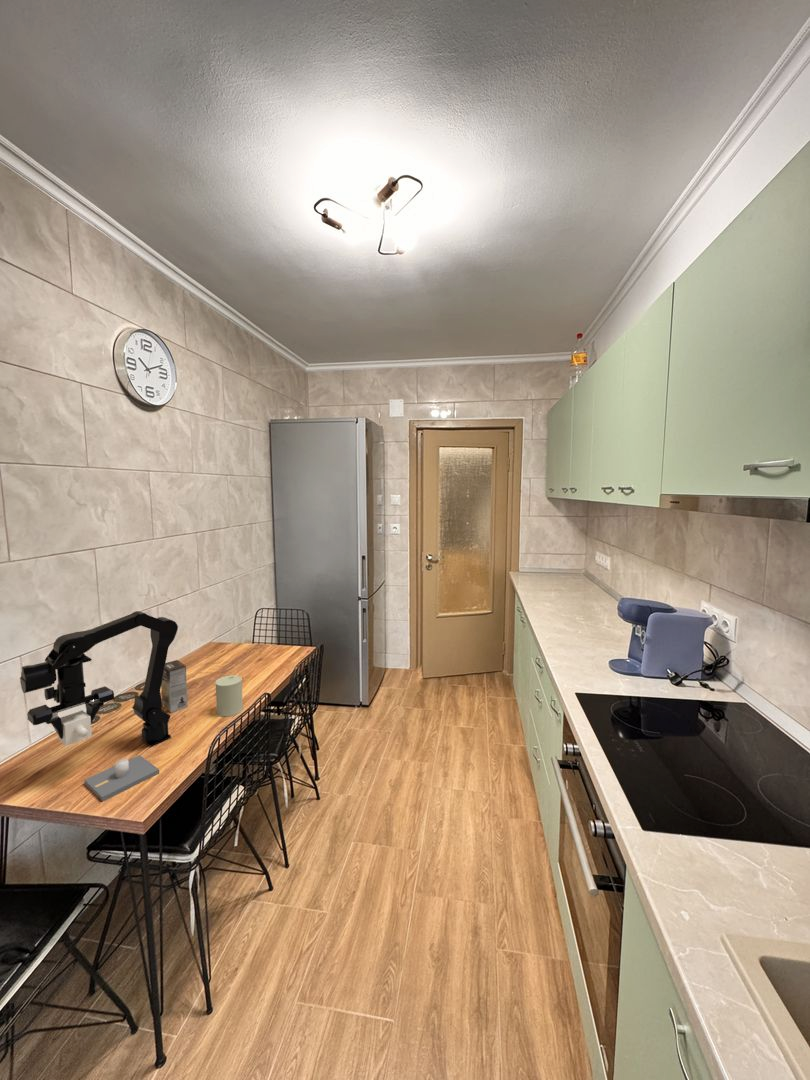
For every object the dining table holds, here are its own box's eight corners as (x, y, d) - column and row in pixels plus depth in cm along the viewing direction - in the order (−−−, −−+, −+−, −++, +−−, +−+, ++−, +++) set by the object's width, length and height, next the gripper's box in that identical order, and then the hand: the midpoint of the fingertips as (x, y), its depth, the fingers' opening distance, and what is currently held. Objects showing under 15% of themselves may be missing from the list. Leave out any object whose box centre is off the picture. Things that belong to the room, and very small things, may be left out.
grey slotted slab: (139, 758, 129) (138, 743, 129) (159, 773, 122) (158, 757, 122) (84, 783, 118) (83, 767, 117) (102, 801, 111) (101, 784, 110)
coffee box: (161, 705, 163) (159, 664, 161) (179, 699, 167) (177, 659, 166) (170, 713, 157) (168, 670, 155) (188, 706, 161) (186, 665, 160)
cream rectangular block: (83, 729, 126) (82, 710, 126) (96, 740, 121) (95, 720, 120) (58, 739, 121) (57, 718, 121) (71, 750, 116) (69, 729, 115)
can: (246, 704, 163) (245, 673, 162) (238, 716, 154) (236, 684, 153) (222, 704, 163) (220, 674, 162) (212, 716, 154) (210, 684, 153)
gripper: (98, 663, 133) (101, 712, 134) (19, 684, 118) (23, 739, 119) (113, 671, 126) (116, 722, 128) (31, 695, 111) (36, 752, 113)
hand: (75, 733), depth 122 cm, fingers closed on cream rectangular block, 6 cm apart
